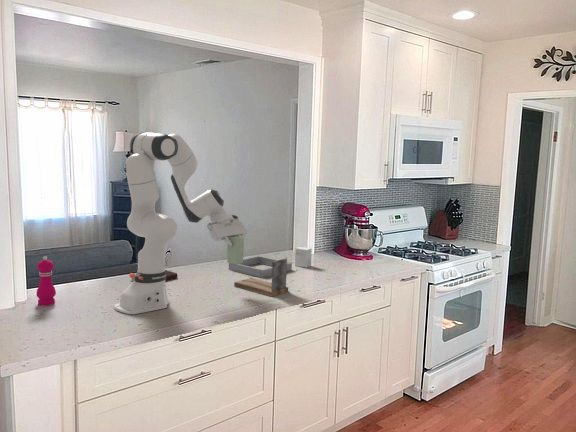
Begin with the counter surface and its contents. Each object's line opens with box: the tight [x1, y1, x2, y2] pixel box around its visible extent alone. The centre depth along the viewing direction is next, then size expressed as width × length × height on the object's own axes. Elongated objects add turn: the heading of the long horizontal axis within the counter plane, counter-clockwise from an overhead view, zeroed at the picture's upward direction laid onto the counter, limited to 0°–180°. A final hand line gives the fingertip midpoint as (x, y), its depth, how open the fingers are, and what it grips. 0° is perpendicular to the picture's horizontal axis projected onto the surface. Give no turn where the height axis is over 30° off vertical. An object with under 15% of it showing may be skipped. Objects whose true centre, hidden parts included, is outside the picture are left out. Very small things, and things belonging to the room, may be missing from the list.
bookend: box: [233, 258, 289, 297], centre depth 239 cm, size 12×24×16 cm, turn 52°
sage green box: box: [226, 236, 245, 264], centre depth 232 cm, size 4×6×12 cm
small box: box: [294, 246, 312, 269], centre depth 290 cm, size 8×6×10 cm
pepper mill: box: [36, 255, 57, 306], centre depth 205 cm, size 7×7×20 cm
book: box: [130, 269, 178, 283], centre depth 249 cm, size 12×19×3 cm, turn 146°
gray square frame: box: [228, 255, 293, 279], centre depth 277 cm, size 25×25×4 cm
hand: (236, 245), depth 231 cm, fingers closed on sage green box, 4 cm apart
